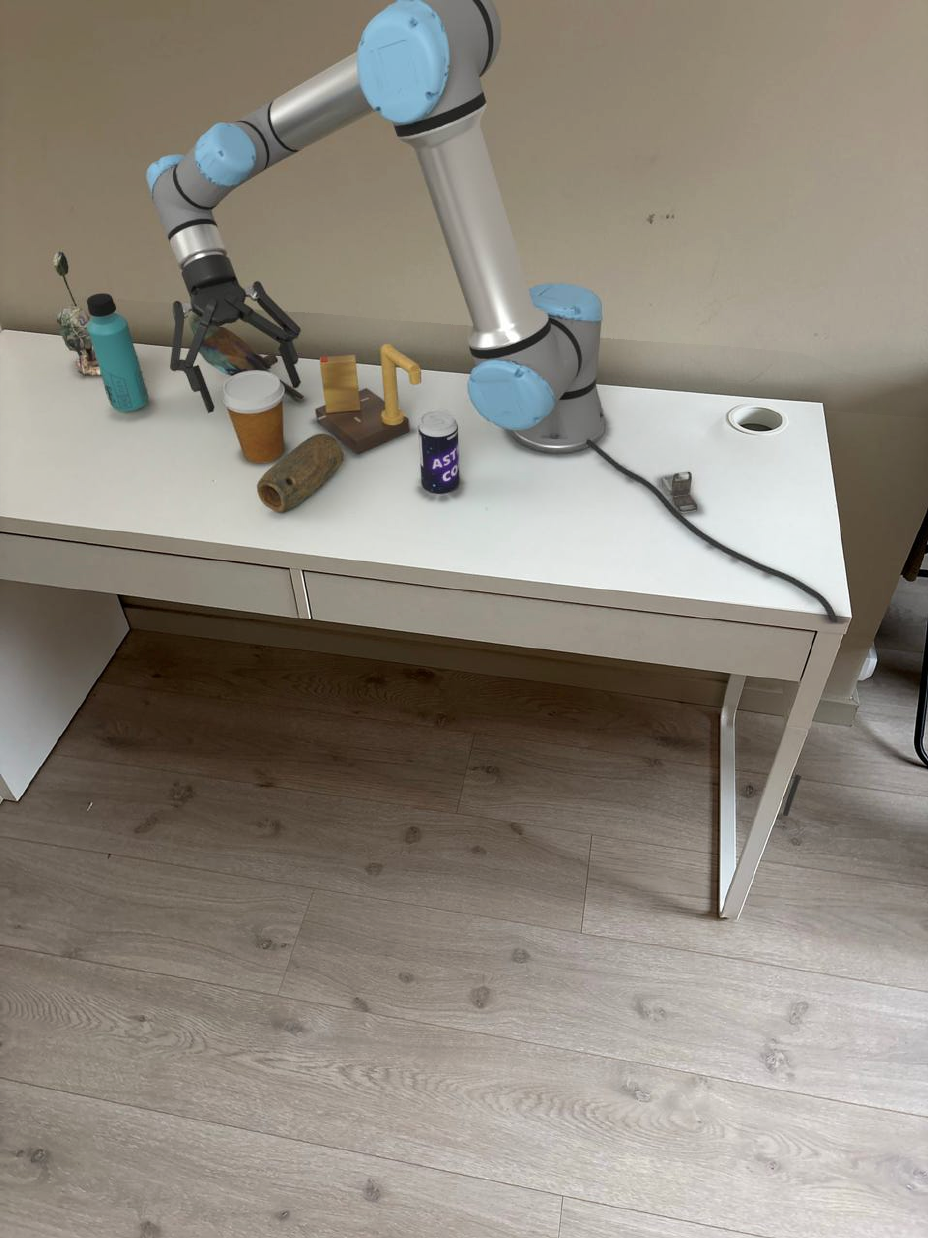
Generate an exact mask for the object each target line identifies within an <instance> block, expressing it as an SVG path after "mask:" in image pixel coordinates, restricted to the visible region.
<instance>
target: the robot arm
mask: <svg viewBox="0 0 928 1238" xmlns="http://www.w3.org/2000/svg"><path fill="white" fill-rule="evenodd" d="M497 9H498V8H497V7H496V5H495V4H494V2H493V0H396V1H395V2H393V3H391V4H387V6H386V7H385V8H384V9H383V10H382V11H380V12H378V13H377V14H376V15H375V16H374V17H373V18H372V19H370V21H369V22H368V24H367V25H366V27H364V30H363V32H362V34H361V37H360V41H359V43H358V46H357V51H355V52H353V53H352V54H350V55H348V56H346V57H345V58H344V59H342V60H340V61H338V62H336V63H335V64H333V65H332V66H329V67H327V68H325V70H323V71H321V72H319V73H317V74H315V75H314V76H313V77H311V78H309V79H307V80H306V81H304V82H302V83H300V84H299V85H297V86H295V87H294V88H292V89H290V90H289V91H287V92H285V93H284V94H282V95H280V96H278V97H277V98H276V99H274V100H271V101H269V102H268V103H265V104H263V105H262V106H261V107H259V108H257V109H256V110H254V111H252V112H250V113H249V114H247V115H245V116H244V117H242V118H240V119H239V120H236V121H234V122H232V123H227V122H225V121H224V122H222V121H220V122H218V123H215V124H214V125H212V126H211V128H209V129H208V130H207V131H206V132H204V133H203V134H201V135H200V137H199V138H198V140H197V141H196V142H195V144H194V145H193V147H191V149H190V150H189V151H188V152H186V155H184V154H178V153H177V154H176V153H175V154H169V155H168V154H167V155H165V156H162V157H160V158H159V160H156V161H153V162H152V163H151V164H150V165H149V167H148V168H147V170H146V174H145V177H146V182H147V185H148V188H149V191H150V196H151V200H152V202H153V204H154V206H155V209H156V211H157V213H158V217H159V219H160V221H161V224H162V227H163V229H164V231H165V234H166V237H167V239H168V241H169V245H170V247H171V249H172V252H173V255H174V257H175V261H176V264H177V266H178V268H179V269H180V270H181V277H182V279H183V282H184V284H185V285H184V286H185V288H186V290H187V293H188V296H189V298H190V301H186V302H181V301H179V300H175V301H174V302H173V304H172V314H173V318H174V328H173V329H174V330H173V338H172V347H171V354H170V364H169V369H170V370H171V371H172V372H177V371H178V372H179V371H180V372H183V373H184V374H185V376H186V378H187V380H188V384H189V386H190V389H191V390H192V391H193V393H196V392H200V395H201V399H202V401H203V403H204V406H205V408H206V411H207V413H208V414H210V413H213V412H214V410H215V404H214V401H213V398H212V396H211V393H210V391H209V388H208V386H207V383H206V380H205V378H204V375H203V372H202V370H201V367H200V365H199V364H197V365H195V362H196V360H197V357H198V355H199V350H200V347H201V344H202V342H203V339H204V337H205V334H206V332H207V330H208V327H209V325H212V326H216V327H219V326H220V327H223V325H225V324H235V323H236V322H237V321H238V320H240V321H242V322H244V323H247V324H249V325H250V326H252V327H254V329H255V328H256V329H257V330H259V331H260V332H262V333H263V334H265V335H266V336H268V337H269V338H271V339H272V340H274V341H276V343H279V346H278V351H279V352H278V353H279V354H280V357H281V359H282V362H283V365H284V368H285V370H286V373H287V375H288V378H289V381H290V383H291V386H292V388H293V389H296V388H298V389H299V386H300V385H301V378H300V377H299V373H298V371H297V368H296V365H297V364H298V362H299V356H298V353H297V351H296V348H295V344H294V342H293V341H295V340H296V339H298V338H299V336H300V334H301V331H302V329H301V327H300V326H299V325H298V324H297V323H296V322H295V321H294V320H293V319H292V318H291V316H289V315H288V314H287V313H286V312H285V311H284V310H283V309H282V308H281V307H280V306H279V305H278V304H277V303H276V302H275V301H274V300H273V299H272V298H271V297H270V296H269V295H268V294H267V293H266V291H265V288H264V287H263V285H262V283H261V281H258V280H256V281H254V282H253V284H252V285H250V286H247V287H245V288H244V287H242V286H241V284H240V283H239V280H238V277H237V275H236V272H235V269H234V267H233V264H232V262H231V259H230V258H229V257H228V251H227V248H226V245H225V243H224V240H223V237H222V235H221V233H220V230H219V226H218V224H217V222H216V220H215V217H214V214H213V210H214V209H215V208H216V207H217V206H218V205H219V204H220V203H221V202H222V201H223V200H224V199H225V198H226V197H227V196H228V195H229V194H230V193H231V192H232V191H234V190H235V189H237V188H239V187H240V186H241V185H243V184H244V183H247V182H248V181H250V180H251V179H253V178H255V177H256V176H258V175H259V174H261V173H263V172H264V171H265V170H267V169H269V168H271V167H272V166H274V165H277V164H278V163H280V162H281V161H284V160H285V159H287V158H289V157H291V156H293V155H295V154H297V153H299V152H300V151H301V150H304V149H306V148H307V147H310V146H311V145H313V144H315V143H317V142H319V141H321V140H323V139H324V138H327V137H329V136H331V135H333V134H335V133H336V132H338V131H340V130H342V129H344V128H346V127H348V126H350V125H352V124H353V123H356V122H357V121H359V120H361V119H363V118H365V117H367V116H369V115H371V114H373V113H375V112H379V114H380V116H381V118H383V119H385V120H386V121H389V122H391V123H392V125H393V127H394V131H395V133H396V137H397V139H398V140H400V141H402V142H404V143H405V144H407V145H410V147H412V148H413V149H414V152H415V155H416V158H417V161H418V164H419V167H420V170H421V173H422V176H423V179H424V182H425V185H426V188H427V191H428V194H429V197H430V200H431V203H432V206H433V208H434V211H435V215H436V217H437V221H438V224H439V227H440V229H441V232H442V235H443V239H444V242H445V245H446V248H447V251H448V253H449V257H450V260H451V262H452V266H453V269H454V272H455V274H456V278H457V281H458V284H459V287H460V289H461V293H462V296H463V298H464V302H465V304H466V307H467V310H468V314H469V317H470V319H471V322H472V329H471V331H470V332H469V334H468V337H467V339H466V342H467V346H468V349H469V351H470V355H471V358H472V361H473V363H474V367H473V368H472V370H471V372H470V374H469V378H468V380H467V395H468V398H469V400H470V403H471V404H472V406H473V407H474V409H475V410H476V412H477V413H479V415H480V416H481V417H483V418H484V419H485V420H486V421H488V422H491V423H493V424H494V426H496V427H499V428H501V429H504V430H509V433H510V435H511V437H512V438H513V439H514V440H515V441H516V442H517V443H518V444H520V445H521V446H524V447H526V448H527V449H530V450H533V451H535V452H540V453H544V454H545V453H546V454H557V455H558V454H561V455H562V454H572V453H575V452H580V451H583V450H586V449H588V448H591V449H592V450H593V451H594V452H596V453H597V454H598V455H599V456H600V457H602V458H603V459H604V460H605V461H606V462H607V463H608V464H610V465H611V466H612V467H614V468H615V469H616V470H617V471H619V472H621V473H622V474H624V475H625V476H627V477H629V478H631V479H633V480H635V481H636V482H639V483H640V484H641V485H643V486H644V487H646V488H647V489H648V490H650V491H651V493H653V494H654V495H655V496H656V497H657V498H658V500H659V501H660V502H661V503H662V504H663V506H664V507H665V508H666V509H667V511H668V512H669V513H670V514H671V515H672V516H673V517H675V518H676V519H677V520H678V522H680V523H681V524H683V526H684V527H685V528H687V529H688V530H689V531H691V532H692V533H693V534H695V535H696V536H697V537H699V538H700V539H702V540H703V541H704V542H706V543H708V544H709V545H711V546H713V547H714V548H716V549H718V550H719V551H721V552H722V553H725V554H726V555H729V556H730V557H732V558H734V559H736V560H739V561H741V562H743V563H745V564H747V565H749V566H751V567H753V568H755V569H758V570H759V571H762V572H764V573H766V574H769V575H772V576H774V577H777V578H779V579H782V580H783V581H786V582H788V583H790V584H792V585H793V586H795V587H797V588H799V589H800V590H802V591H804V592H805V593H807V594H808V595H810V596H811V597H813V598H814V599H815V600H816V601H818V602H819V603H820V604H821V605H822V607H823V608H824V610H825V612H826V613H827V615H828V617H829V620H830V621H831V622H832V623H838V617H837V615H836V613H835V611H834V608H833V607H832V605H831V604H830V602H829V600H827V599H826V598H825V597H824V596H823V595H822V594H821V593H820V592H818V591H816V590H815V589H814V588H812V587H811V586H808V585H807V584H805V583H804V582H802V581H801V580H799V579H797V578H795V577H793V576H791V575H789V574H787V573H784V572H782V571H779V570H778V569H775V568H772V567H771V566H767V565H764V564H762V563H761V562H758V561H756V560H753V559H752V558H750V557H748V556H746V555H743V554H742V553H739V552H737V551H735V550H734V549H731V548H729V547H727V546H726V545H723V544H722V543H720V542H719V541H717V540H716V539H714V538H712V537H711V536H709V535H708V534H706V533H705V532H703V531H702V530H700V529H699V528H697V526H695V525H694V524H693V523H691V521H689V520H688V519H687V518H686V517H684V516H683V514H682V513H680V512H679V511H678V510H677V509H676V507H675V506H673V504H672V503H671V502H670V501H669V500H668V499H667V497H665V495H664V494H663V493H662V492H661V491H660V489H658V488H657V487H656V486H655V485H654V484H652V483H651V482H650V481H648V480H646V478H644V477H641V476H640V475H638V474H637V473H635V472H633V471H631V470H629V469H627V468H626V467H624V466H623V465H621V464H620V463H618V462H617V461H616V460H615V459H613V458H612V457H611V456H610V455H609V454H608V453H607V452H605V451H604V450H603V449H602V448H601V447H599V446H598V445H597V444H596V443H597V442H598V441H600V440H601V438H602V436H603V434H604V431H605V421H606V420H605V418H606V417H605V413H604V410H603V408H602V402H601V398H600V395H599V391H598V388H597V376H598V367H599V365H598V364H599V355H600V342H601V333H602V322H603V320H604V317H603V314H602V313H603V304H602V300H601V298H600V297H599V295H597V294H596V293H595V292H594V291H592V290H590V289H589V288H587V287H584V286H580V285H576V284H570V283H563V282H552V283H551V282H550V283H542V284H537V285H534V286H531V287H530V288H529V286H528V282H527V279H526V275H525V273H524V268H523V266H522V265H523V264H522V262H521V259H520V256H519V252H518V249H517V245H516V242H515V239H514V236H513V232H512V229H511V225H510V221H509V218H508V215H507V212H506V208H505V205H504V201H503V198H502V194H501V191H500V188H499V185H498V181H497V178H496V174H495V171H494V167H493V164H492V161H491V158H490V154H489V151H488V148H487V147H488V146H487V143H486V140H485V137H484V134H483V130H482V127H481V120H482V117H483V115H484V112H485V110H486V108H487V106H488V102H487V100H486V96H485V93H484V89H483V84H482V82H481V79H480V78H482V77H483V76H484V75H486V73H487V72H488V71H489V70H490V69H491V67H492V65H493V63H494V62H495V60H496V58H497V56H498V53H499V50H500V46H501V40H502V28H501V27H502V26H501V20H500V19H501V18H500V15H499V12H498V10H497ZM246 298H250V299H251V300H252V301H253V302H256V303H257V304H258V305H259V306H260V308H261V309H262V310H263V311H264V312H265V313H266V314H267V315H268V316H269V317H270V318H271V319H272V320H273V321H274V322H275V323H276V324H275V323H274V322H272V321H271V320H269V319H267V317H264V316H262V315H261V314H260V313H259V312H256V311H255V310H254V309H253V308H252V307H251V306H249V305H248V304H246V303H245V301H246ZM189 312H192V313H193V314H196V315H198V316H199V317H200V318H201V321H200V324H199V326H198V329H197V331H196V334H195V335H194V336H193V339H192V341H191V344H190V347H189V349H188V351H187V353H186V357H185V359H181V352H182V351H181V350H182V343H183V334H184V325H185V319H187V318H188V317H189ZM801 778H802V775H799V774H795V776H794V779H793V781H792V785H791V787H790V790H789V793H788V796H787V798H786V802H785V805H784V809H783V812H782V816H784V817H788V816H789V814H790V811H791V808H792V804H793V801H794V798H795V795H796V792H797V789H798V786H799V785H800V781H801Z"/></svg>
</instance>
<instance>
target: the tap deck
mask: <svg viewBox="0 0 928 1238" xmlns="http://www.w3.org/2000/svg"><path fill="white" fill-rule="evenodd" d="M359 398H360V408H361V410H356V411H344V412H333V413H326V406H325V404H323V405H321V406H319V407H316V408H315V417H316V422H317V424H319V425H320V426H322V428H324V429H325V430H326V431H328V433H330V434H331V435H332V436H334V437H335V438H337V439H338V441H340V442H341V443H342V444H344V445H345V446H346V447H347V448H348V449H350V450H351V451H352V452H354V453H355V454H356V455H360V454H363V453H365V452H368V451H369V450H372V449H375V448H376V447H378V446H380V445H383V444H385V443H388V442H391V441H392V440H394V439H397V438H399V437H401V436H404V435H406V434H408V433H410V420H409V418H408V417H407V416H405V415H404V420H403V422H402V423H400V424H397V425H387V424H385V423H383V422H382V418H381V413H382V412H383V411H384V410H385V401H384V399H382V398H381V397H380V396H378V395H377V394H376V393H374V392H373V391H372V390H371V389H369V388H367V387H365V388H362V389H359Z"/></svg>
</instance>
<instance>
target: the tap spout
mask: <svg viewBox="0 0 928 1238" xmlns="http://www.w3.org/2000/svg"><path fill="white" fill-rule="evenodd" d="M379 352H380V354H379V355H380V364H381V376H382V387H383V398H384V399H383V400H384V401H385V410H384V411H383V412H382V413H381V418H382V422H383V423H385V424H387V425H397V424H400V423H402V422H403V420H404V416H405V412H404V410H402V409H401V408H400V402H399V389H398V387H399V386H398V376H397V367H399V368H401V369H402V370H403V371H405V372H406V373H408V381H409V384H410V385H413V386H414V385H415V386H416V385H420V384H422V369H421V367H420V365H419V364H418V363H417V362H415V361H414V360H412V359H411V358H409V357H408V356H407V355H405V354H403V353H402V352H401V351H399V350H398V349H396V348H395V347H394V346H393V345H392V344H391V343H384V344H382V345H381V347H380V350H379Z"/></svg>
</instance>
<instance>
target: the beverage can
mask: <svg viewBox="0 0 928 1238" xmlns="http://www.w3.org/2000/svg"><path fill="white" fill-rule="evenodd" d="M417 428H418V429H417V430H418V431H417V432H418V445H419V446H418V447H419V464H420V465H419V466H420V478H421V479H420V481H421V487H422V488H423V490H425V491H426V492H428V493H429V494H431V495H433V496H439V497H442V496H443V497H444V496H448V495H450V494H452V493H453V492H454V491H455V490H456V489H457V488H458V487H459V486H460V451H459V425H458V422H457V421H456V417H455V415H454V414H453V413H452V412H450V411H448V410H445V409H433V410H429V411H427V412H425V413H423V415H422V416H421V417H420V422H419V424H418V427H417Z"/></svg>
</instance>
